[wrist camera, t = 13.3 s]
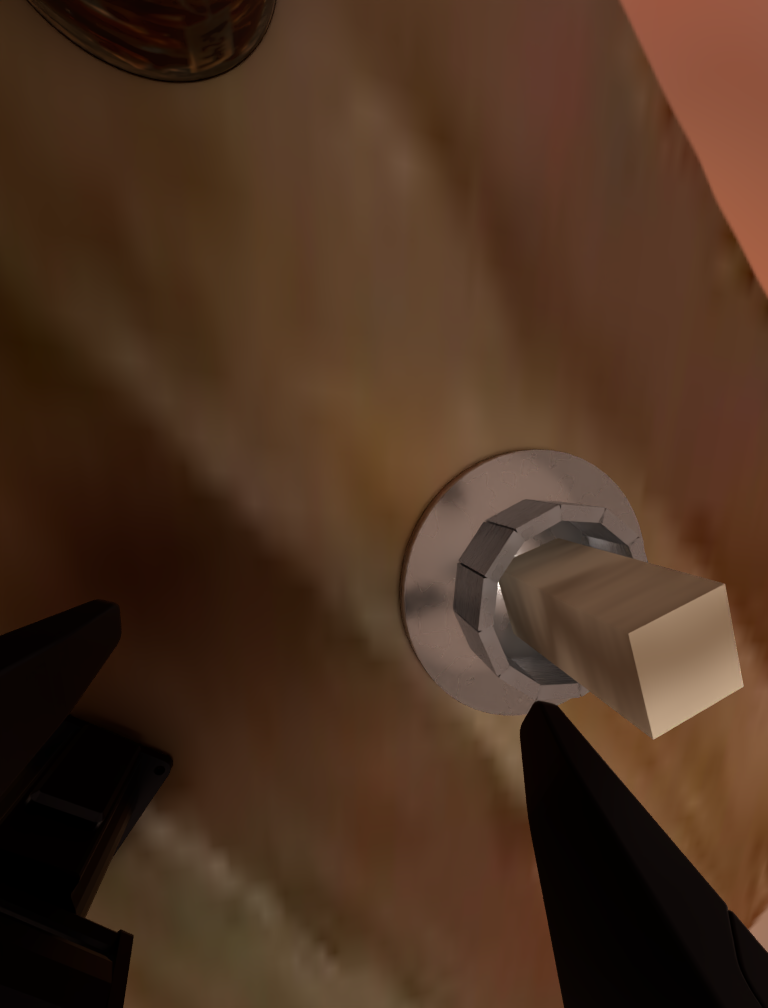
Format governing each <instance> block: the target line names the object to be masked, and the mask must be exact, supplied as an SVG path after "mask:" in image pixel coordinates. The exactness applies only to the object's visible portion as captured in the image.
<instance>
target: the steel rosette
mask: <svg viewBox="0 0 768 1008" xmlns="http://www.w3.org/2000/svg"><path fill="white" fill-rule="evenodd" d="M557 538H560V539H564V540H567V541H571V542H574V543H578V544H582V545H585V546H589V547H593V548H596V549H600V550H603V551H607V552H611V553H614V554H618V555H622V556H625V557H629V558H633V559H636V560H640V561H643V562H647V563H648V561H647V557H646V554H645V551H644V544H643V538H642V534H641V530H640V526H639V523H638V521H637V518H636V516H635V513H634V511H633V509H632V507H631V505H630V503H629V502H628V500H627V498H626V497H625V495H624V494H623V492H622V491H621V490H620V488H619V487H618V486H617V485H616V484H615V483H614V482H613V481H612V480H611V479H610V478H609V477H608V475H606V474H605V473H604V472H602V471H601V470H600V469H599V468H597V467H596V466H595V465H593V464H591V463H589V462H587V461H585V460H583V459H582V458H579V457H576V456H573V455H570V454H568V453H563V452H558V451H553V450H523V451H514V452H507V453H504V454H500V455H496V456H493V457H490V458H488V459H485V460H483V461H481V462H478V463H476V464H475V465H473V466H471V467H470V468H468V469H466V470H465V471H463V472H462V473H460V474H459V475H458V476H457V477H455V478H454V479H453V480H451V481H450V482H449V483H448V484H447V485H446V486H445V487H444V488H443V489H442V490H441V491H440V492H439V493H438V494H437V495H436V496H435V498H434V499H433V500H432V502H431V503H430V504H429V505H428V507H427V508H426V509H425V511H424V513H423V514H422V516H421V518H420V519H419V521H418V523H417V525H416V526H415V529H414V531H413V533H412V536H411V538H410V540H409V543H408V546H407V549H406V553H405V556H404V560H403V565H402V571H401V578H400V605H401V614H402V619H403V623H404V627H405V631H406V634H407V636H408V639H409V641H410V644H411V646H412V648H413V650H414V652H415V654H416V655H417V657H418V659H419V661H420V662H421V664H422V665H423V667H424V668H425V670H426V671H427V672H428V674H429V675H430V676H431V677H432V679H433V680H434V681H435V682H436V684H438V685H439V686H440V687H441V688H442V689H443V690H444V691H445V692H446V693H447V694H449V695H450V696H452V697H453V698H455V699H456V700H458V701H459V702H461V703H463V704H465V705H467V706H469V707H471V708H473V709H476V710H480V711H483V712H486V713H491V714H498V715H524V714H527V713H528V712H529V710H530V708H531V706H532V704H533V703H534V702H535V701H537V700H540V701H545V702H549V703H553V704H555V705H559V704H561V703H564V702H565V701H567V700H569V699H571V698H579V697H580V696H581V697H582V696H583V695H585V694H587V693H588V692H590V691H589V690H587V689H586V688H585V687H583V686H582V685H581V684H579V683H578V682H577V681H575V680H574V679H573V678H571V677H570V676H569V675H568V674H566V673H565V672H564V671H562V670H561V669H560V668H558V667H557V666H556V665H554V664H553V663H552V662H550V661H549V660H548V659H546V658H545V657H544V656H542V655H541V654H540V653H539V652H537V651H536V650H535V649H533V648H532V647H531V646H529V645H528V644H527V643H525V642H524V641H523V640H521V639H520V638H519V637H517V636H516V635H515V634H514V633H513V629H512V626H511V623H510V619H509V616H508V612H507V609H506V606H505V602H504V599H503V596H502V592H501V589H500V585H499V582H498V581H499V580H500V578H501V577H502V575H503V574H504V572H505V570H506V569H507V567H508V566H509V564H510V563H511V561H512V560H513V558H514V557H516V556H518V555H521V554H523V553H525V552H527V551H530V550H532V549H534V548H537V547H539V546H541V545H543V544H546V543H548V542H550V541H553V540H555V539H557Z"/></svg>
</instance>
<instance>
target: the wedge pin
mask: <svg viewBox="0 0 768 1008" xmlns="http://www.w3.org/2000/svg"><path fill="white" fill-rule="evenodd" d="M498 582H499V585H500V589H501V592H502V596H503V599H504V602H505V606H506V609H507V612H508V616H509V619H510V623H511V626H512V629H513V633H514V634H515V635H516V636H517V637H519V638H520V639H521V640H523V641H524V642H525V643H527V644H528V645H529V646H531V647H532V648H533V649H535V650H536V651H537V652H539V653H540V654H541V655H542V656H544V657H545V658H546V659H548V660H549V661H550V662H552V663H553V664H554V665H556V666H557V667H558V668H560V669H561V670H562V671H564V672H565V673H566V674H568V675H569V676H570V677H571V678H573V679H574V680H575V681H577V682H578V683H579V684H581V685H582V686H583V687H585V688H586V689H587V690H589V691H590V692H591V693H593V694H594V695H595V696H597V697H598V698H599V699H601V700H602V701H603V702H604V703H606V704H607V705H608V706H610V707H611V708H612V709H614V710H615V711H616V712H618V713H619V714H620V715H622V716H623V717H624V718H626V719H627V720H628V721H630V722H631V723H632V724H633V725H635V726H636V727H637V728H639V729H640V730H641V731H643V732H644V733H645V734H647V735H648V736H649V737H651V738H652V739H653V740H654V739H655V738H657V737H659V736H660V735H662V734H664V733H666V732H667V731H669V730H671V729H672V728H674V727H676V726H677V725H679V724H681V723H683V722H684V721H686V720H688V719H689V718H691V717H693V716H694V715H696V714H698V713H699V712H701V711H703V710H705V709H706V708H708V707H710V706H711V705H713V704H715V703H716V702H718V701H720V700H722V699H723V698H725V697H727V696H728V695H730V694H732V693H733V692H735V691H737V690H738V689H740V688H742V687H744V686H743V681H742V675H741V670H740V664H739V659H738V653H737V648H736V642H735V637H734V632H733V626H732V621H731V615H730V610H729V604H728V599H727V593H726V588H725V584H723V583H720V582H716V581H712V580H709V579H705V578H702V577H698V576H694V575H691V574H687V573H683V572H680V571H676V570H673V569H669V568H665V567H662V566H658V565H654V564H651V563H647V562H643V561H640V560H636V559H633V558H629V557H625V556H622V555H618V554H614V553H611V552H607V551H603V550H600V549H596V548H593V547H589V546H585V545H582V544H578V543H574V542H571V541H567V540H564V539H560V538H557V539H555V540H553V541H550V542H548V543H546V544H543V545H541V546H539V547H537V548H534V549H532V550H530V551H527V552H525V553H523V554H521V555H518V556H516V557H514V558H513V560H512V561H511V563H510V564H509V566H508V567H507V569H506V570H505V572H504V574H503V575H502V577H501V578H500V580H499V581H498Z"/></svg>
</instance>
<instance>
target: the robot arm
mask: <svg viewBox="0 0 768 1008" xmlns="http://www.w3.org/2000/svg"><path fill="white" fill-rule="evenodd" d="M120 637H121V620H120V608H119V606H118V605H117V604H116V603H114V602H109V601H105V600H100V599H97V600H93V601H90V602H87V603H85V604H82V605H79V606H77V607H74V608H72V609H69V610H66V611H64V612H61V613H59V614H56V615H53V616H51V617H48V618H45V619H43V620H40V621H38V622H35V623H32V624H30V625H27V626H24V627H22V628H19V629H17V630H14V631H11V632H9V633H6V634H3V635H1V636H0V1008H123V1005H124V998H125V991H126V984H127V978H128V971H129V964H130V957H131V951H132V944H133V937H134V936H133V935H132V934H130V933H128V932H126V931H123V930H119V931H118V932H115V931H113V930H111V929H109V928H106V927H104V926H102V925H99V924H97V923H95V922H93V921H90V920H88V919H86V918H85V917H86V915H87V913H88V910H89V908H90V906H91V904H92V902H93V899H94V897H95V895H96V893H97V891H98V888H99V886H100V884H101V882H102V880H103V877H104V875H105V873H106V871H107V868H108V866H109V864H110V862H111V860H112V858H113V856H114V855H115V853H116V852H117V850H118V849H119V847H120V846H121V844H122V843H123V841H124V840H125V838H126V837H127V835H128V834H129V832H130V831H131V830H132V828H133V827H134V825H135V824H136V822H137V821H138V819H139V818H140V816H141V815H142V813H143V812H144V810H145V809H146V807H147V806H148V804H149V803H150V801H151V800H152V799H153V797H154V796H155V794H156V793H157V791H158V790H159V788H160V787H161V785H162V784H163V782H164V781H165V779H166V778H167V776H168V775H169V773H170V771H171V768H172V766H173V761H172V759H171V758H170V757H169V756H167V755H165V754H162V753H160V752H157V751H155V750H153V749H150V748H148V747H145V746H143V745H140V744H138V743H136V742H133V741H131V740H128V739H126V738H124V737H121V736H119V735H116V734H114V733H111V732H109V731H107V730H104V729H102V728H99V727H97V726H94V725H92V724H89V723H87V722H85V721H82V720H80V719H77V718H75V717H72V716H70V715H68V714H69V713H70V712H71V710H72V709H73V708H74V706H75V705H76V703H77V702H78V701H79V699H80V698H81V696H82V695H83V693H84V692H85V690H86V689H87V688H88V686H89V685H90V683H91V682H92V680H93V679H94V677H95V676H96V675H97V673H98V672H99V670H100V669H101V667H102V666H103V664H104V663H105V662H106V660H107V659H108V657H109V656H110V654H111V653H112V651H113V650H114V649H115V647H116V646H117V644H118V642H119V640H120ZM520 741H521V752H522V762H523V772H524V783H525V793H526V803H527V812H528V819H529V825H530V831H531V837H532V842H533V847H534V852H535V858H536V863H537V868H538V873H539V878H540V884H541V889H542V894H543V899H544V905H545V910H546V915H547V920H548V926H549V931H550V936H551V941H552V947H553V952H554V957H555V962H556V968H557V973H558V978H559V983H560V989H561V994H562V999H563V1004H564V1008H768V952H767V951H766V950H765V949H764V948H763V947H762V945H761V944H760V943H759V942H758V941H757V940H756V938H755V937H754V936H753V935H752V934H751V933H750V931H749V930H748V929H747V928H746V927H745V925H744V924H743V923H742V922H741V921H740V920H739V918H738V917H737V916H736V915H735V914H734V913H733V912H732V911H731V910H728V907H727V905H726V903H725V902H724V901H723V900H722V899H721V897H720V896H719V895H718V894H717V893H716V892H715V890H714V889H713V888H712V887H711V886H710V885H709V883H708V882H707V881H706V880H705V879H704V877H703V876H702V875H701V874H700V873H699V872H698V870H697V869H696V868H695V867H694V866H693V865H692V863H691V862H690V861H689V860H688V859H687V857H686V856H685V855H684V854H683V853H682V852H681V850H680V849H679V848H678V847H677V846H676V845H675V843H674V842H673V841H672V840H671V839H670V837H669V836H668V835H667V834H666V833H665V832H664V830H663V829H662V828H661V827H660V826H659V825H658V823H657V822H656V821H655V820H654V819H653V817H652V816H651V815H650V814H649V813H648V812H647V810H646V809H645V808H644V807H643V806H642V805H641V803H640V802H639V801H638V800H637V799H636V797H635V796H634V795H633V794H632V793H631V792H630V790H629V789H628V788H627V787H626V786H625V785H624V783H623V782H622V781H621V780H620V779H619V777H618V776H617V775H616V774H615V773H614V772H613V770H612V769H611V768H610V767H609V766H608V765H607V763H606V762H605V761H604V760H603V759H602V757H601V756H600V755H599V754H598V753H597V752H596V750H595V749H594V748H593V747H592V746H591V745H590V743H589V742H588V741H587V740H586V739H585V737H584V736H583V735H582V734H581V733H580V732H579V730H578V729H577V728H576V727H575V726H574V725H573V723H572V722H571V721H570V720H569V719H568V717H567V716H566V715H565V714H564V713H563V712H562V710H561V709H560V708H559V707H558V706H557V705H555V704H553V703H549V702H545V701H540V700H537V701H535V702H534V703H533V704H532V706H531V708H530V710H529V712H528V713H527V715H526V717H525V719H524V721H523V723H522V725H521V729H520ZM157 766H163V767H165V768H164V769H159V768H157Z"/></svg>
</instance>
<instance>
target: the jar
mask: <svg viewBox="0 0 768 1008" xmlns="http://www.w3.org/2000/svg"><path fill="white" fill-rule="evenodd" d="M28 2H29V3H30V4H31V5H32V6H33V7H34V8H35V9H36V10H37V11H38V12H39V13H40V14H41V15H42V16H43V17H44V18H45V19H46V20H47V21H48V22H49V23H50V24H51V25H53V26H54V27H55V28H56V29H57V30H58V31H60V32H61V33H62V34H63V35H65V36H66V37H67V38H69V39H70V40H71V41H72V42H74V43H75V44H77V45H78V46H80V47H81V48H83V49H84V50H86V51H87V52H89V53H91V54H92V55H94V56H96V57H98V58H99V59H101V60H103V61H105V62H107V63H109V64H111V65H113V66H116V67H118V68H121V69H123V70H126V71H128V72H131V73H135V74H138V75H141V76H145V77H149V78H154V79H160V80H168V81H192V80H199V79H204V78H208V77H212V76H215V75H217V74H220V73H223V72H225V71H227V70H229V69H231V68H232V67H234V66H235V65H237V64H238V63H240V62H241V61H242V60H243V59H245V58H246V57H247V56H248V55H249V54H250V53H251V52H252V51H253V50H254V48H255V47H256V46H257V45H258V43H259V42H260V40H261V39H262V37H263V35H264V34H265V32H266V30H267V28H268V25H269V23H270V21H271V18H272V15H273V12H274V8H275V4H276V0H28Z"/></svg>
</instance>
